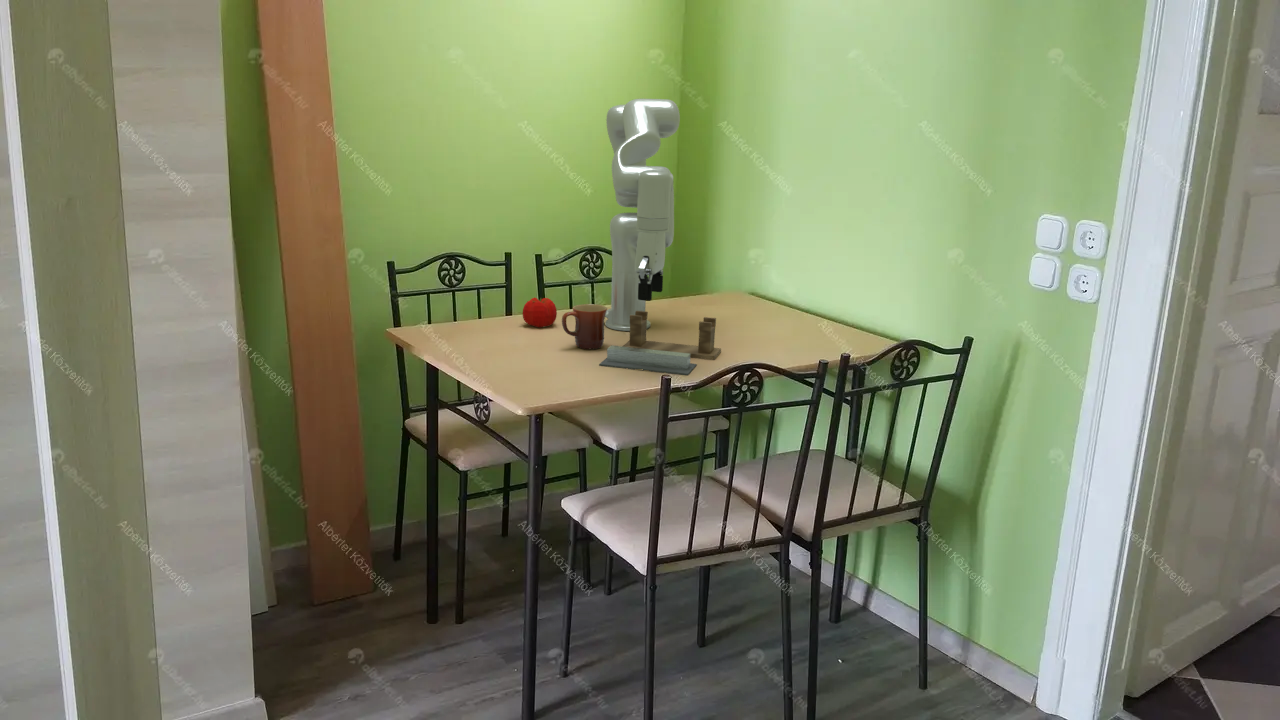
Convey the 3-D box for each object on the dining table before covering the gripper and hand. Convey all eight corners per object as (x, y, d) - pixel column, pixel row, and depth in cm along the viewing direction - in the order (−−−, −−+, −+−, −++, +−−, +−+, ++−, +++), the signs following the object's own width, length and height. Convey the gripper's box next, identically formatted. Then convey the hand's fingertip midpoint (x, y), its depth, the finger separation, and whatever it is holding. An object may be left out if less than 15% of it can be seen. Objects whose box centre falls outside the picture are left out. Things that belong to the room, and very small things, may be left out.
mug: (597, 341, 263) (598, 303, 260) (612, 349, 256) (613, 310, 253) (555, 345, 258) (555, 306, 255) (569, 353, 250) (569, 314, 247)
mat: (599, 365, 241) (599, 363, 241) (610, 356, 249) (610, 354, 249) (688, 375, 235) (688, 373, 235) (696, 365, 244) (696, 363, 243)
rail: (607, 361, 243) (607, 348, 242) (611, 357, 246) (611, 345, 245) (686, 369, 238) (687, 357, 237) (690, 366, 241) (690, 353, 240)
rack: (622, 350, 255) (622, 315, 253) (631, 342, 262) (632, 309, 260) (714, 359, 249) (716, 324, 246) (720, 352, 256) (722, 317, 254)
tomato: (551, 321, 283) (552, 295, 281) (559, 328, 275) (559, 302, 273) (519, 322, 280) (519, 296, 278) (525, 330, 272) (525, 303, 270)
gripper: (647, 217, 242) (645, 287, 247) (626, 228, 226) (624, 302, 231) (677, 220, 240) (674, 289, 245) (658, 231, 224) (655, 305, 229)
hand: (650, 295), depth 238 cm, fingers open, 9 cm apart
